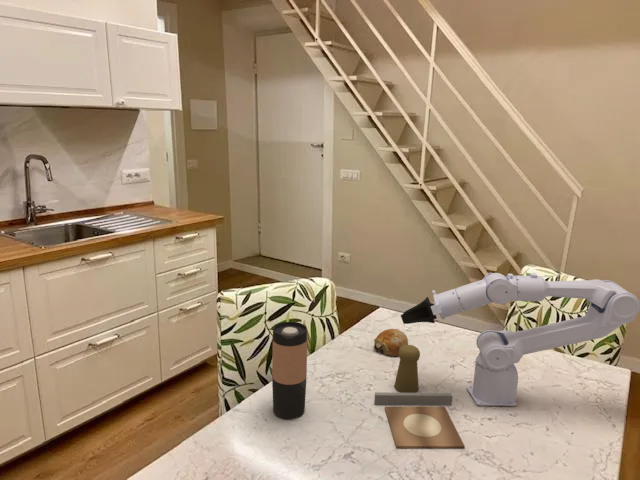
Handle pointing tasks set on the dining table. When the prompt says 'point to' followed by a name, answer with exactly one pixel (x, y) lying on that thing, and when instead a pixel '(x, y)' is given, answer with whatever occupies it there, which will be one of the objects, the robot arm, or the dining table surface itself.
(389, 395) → the low wall
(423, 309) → the robot arm
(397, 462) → the dining table surface
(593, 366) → the dining table surface
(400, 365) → the cork
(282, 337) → the travel mug
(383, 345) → the bread roll
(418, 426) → the walnut board
